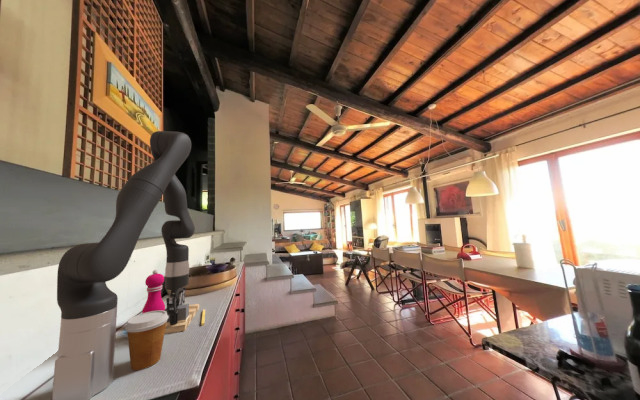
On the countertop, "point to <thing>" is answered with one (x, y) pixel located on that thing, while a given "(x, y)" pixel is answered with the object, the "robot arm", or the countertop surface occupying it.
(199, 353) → the countertop surface
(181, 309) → the sanding block
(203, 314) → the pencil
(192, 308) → the board
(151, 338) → the disposable coffee cup
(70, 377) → the robot arm
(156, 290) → the pepper mill
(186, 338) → the countertop surface
